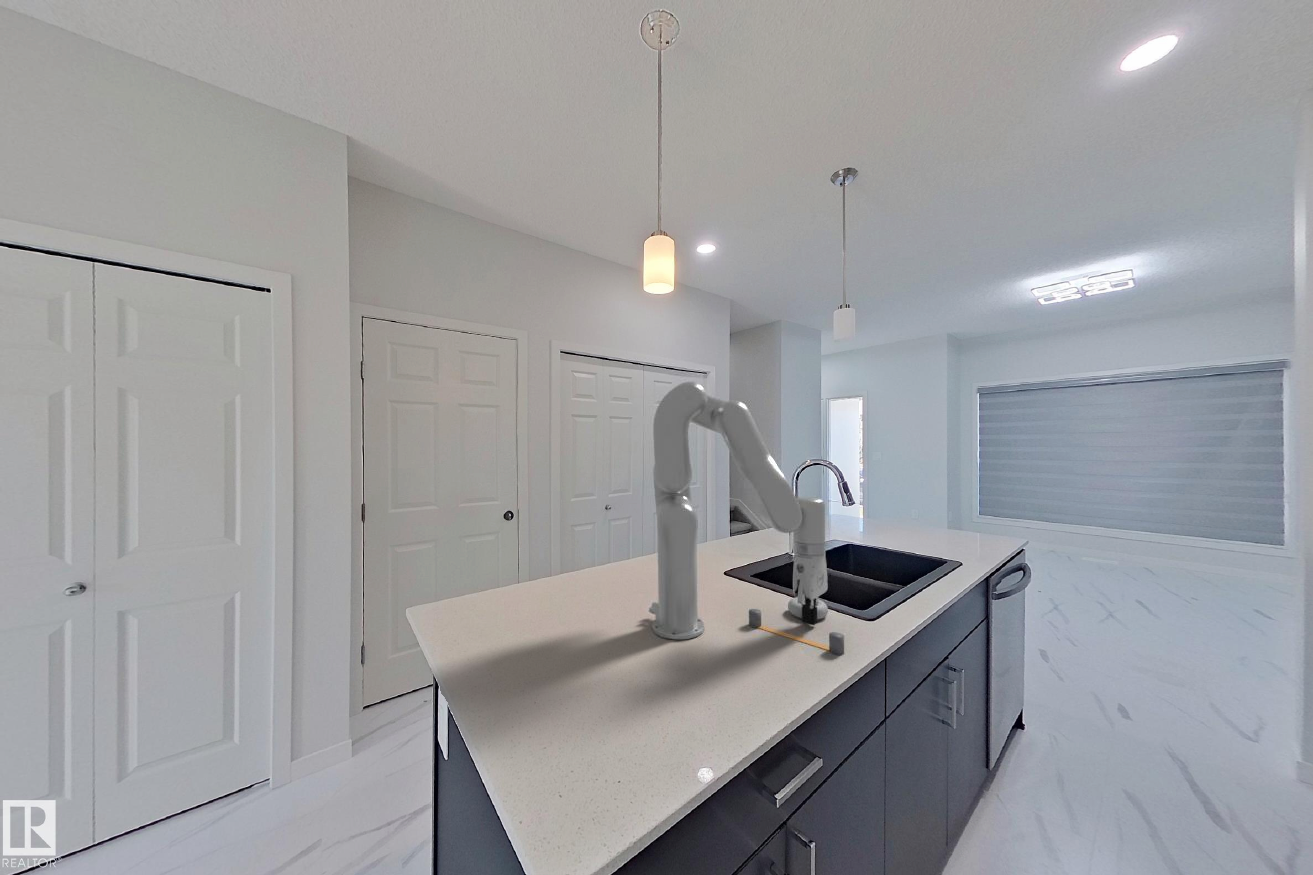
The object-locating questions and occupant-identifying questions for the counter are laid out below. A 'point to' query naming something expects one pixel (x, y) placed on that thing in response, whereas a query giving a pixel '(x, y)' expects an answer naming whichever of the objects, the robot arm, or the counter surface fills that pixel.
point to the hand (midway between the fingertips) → (809, 622)
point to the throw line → (834, 638)
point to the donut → (797, 608)
